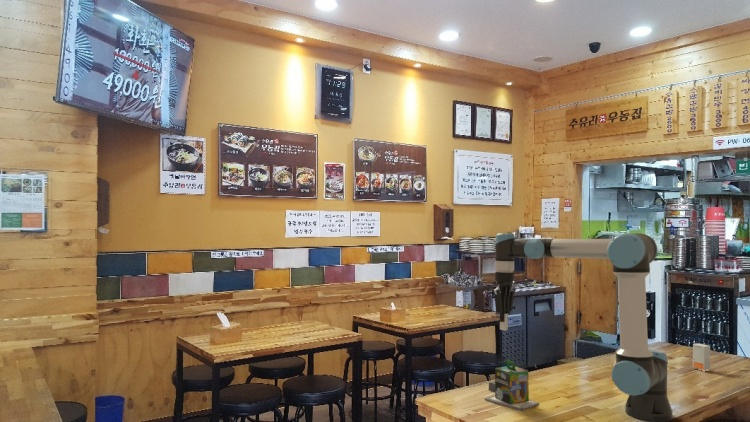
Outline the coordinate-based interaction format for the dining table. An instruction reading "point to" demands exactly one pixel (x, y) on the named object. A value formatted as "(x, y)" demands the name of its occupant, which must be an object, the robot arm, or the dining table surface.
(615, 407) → the dining table surface
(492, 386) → the button housing
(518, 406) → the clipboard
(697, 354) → the skincare box
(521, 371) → the chalk box
